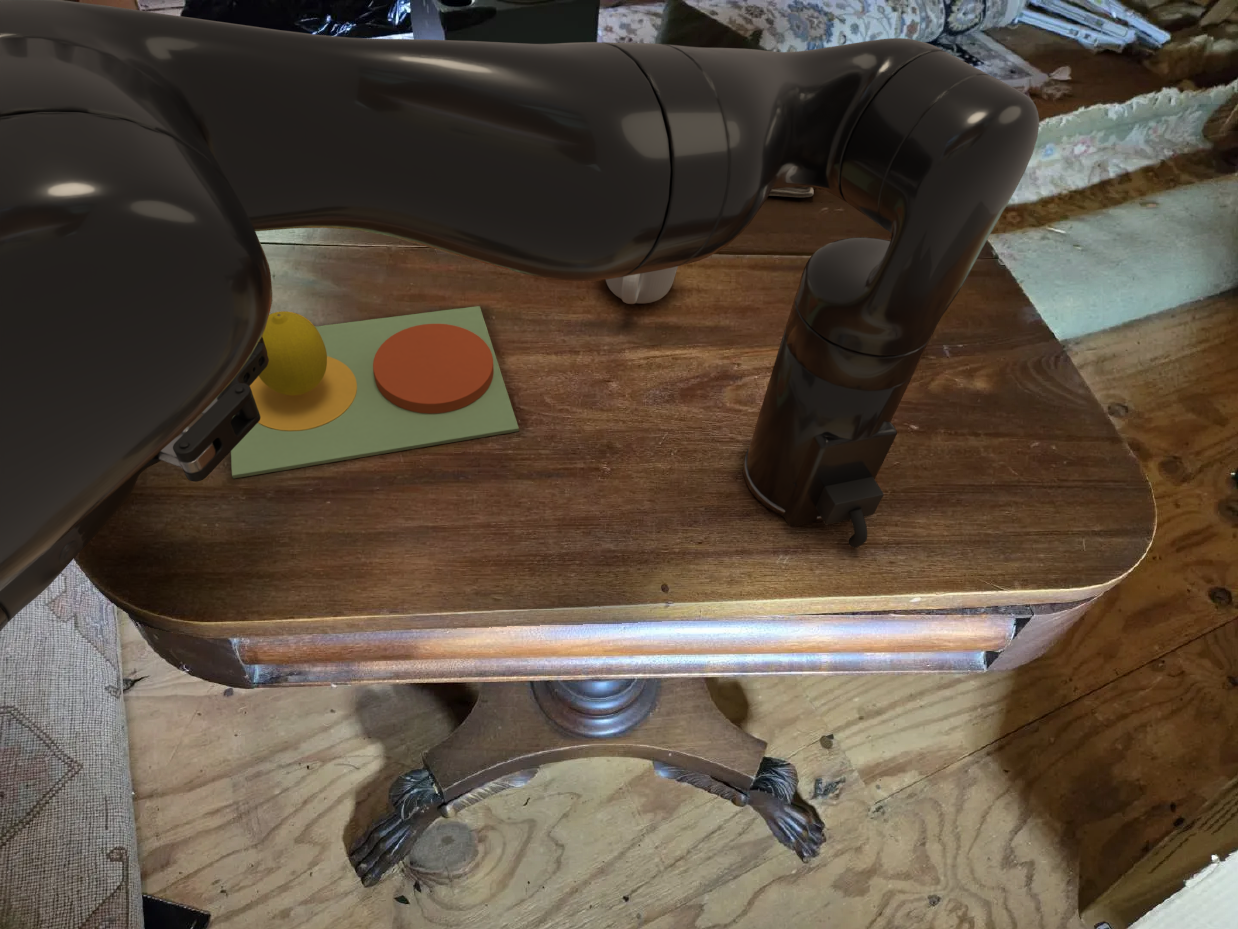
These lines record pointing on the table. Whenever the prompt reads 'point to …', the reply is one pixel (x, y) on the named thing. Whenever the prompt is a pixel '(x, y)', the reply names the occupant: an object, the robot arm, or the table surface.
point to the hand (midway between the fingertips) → (200, 325)
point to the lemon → (293, 354)
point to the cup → (643, 286)
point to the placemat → (383, 394)
